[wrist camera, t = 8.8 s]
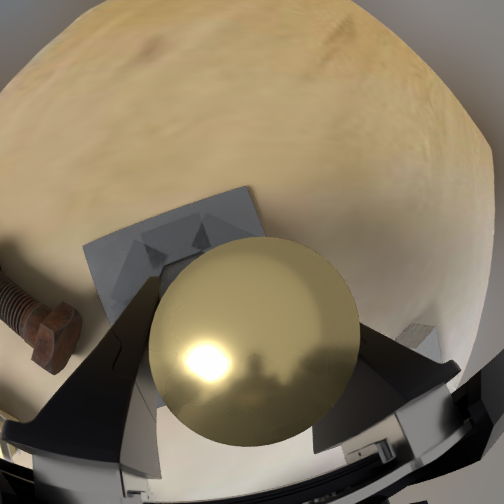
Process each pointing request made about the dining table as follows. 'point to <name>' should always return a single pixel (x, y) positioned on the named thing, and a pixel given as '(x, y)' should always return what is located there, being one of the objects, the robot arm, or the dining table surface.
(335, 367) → the pale yellow tall bar
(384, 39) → the dining table surface
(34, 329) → the bolt
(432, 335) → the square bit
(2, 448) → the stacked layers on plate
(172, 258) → the socket block
